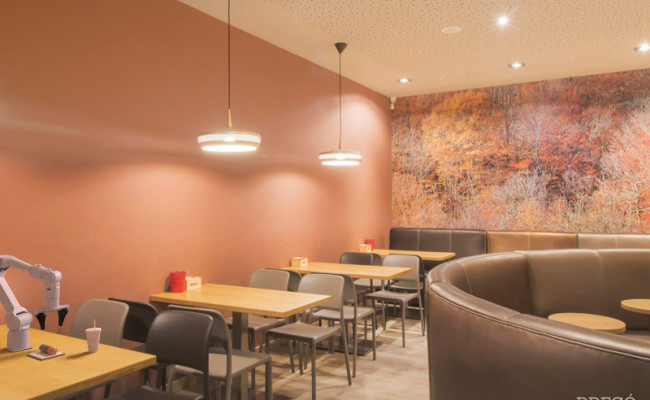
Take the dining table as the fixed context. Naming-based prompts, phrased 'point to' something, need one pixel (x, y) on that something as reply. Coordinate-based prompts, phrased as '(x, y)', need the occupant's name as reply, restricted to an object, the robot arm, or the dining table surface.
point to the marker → (48, 349)
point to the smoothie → (93, 338)
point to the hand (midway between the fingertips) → (51, 327)
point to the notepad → (44, 355)
